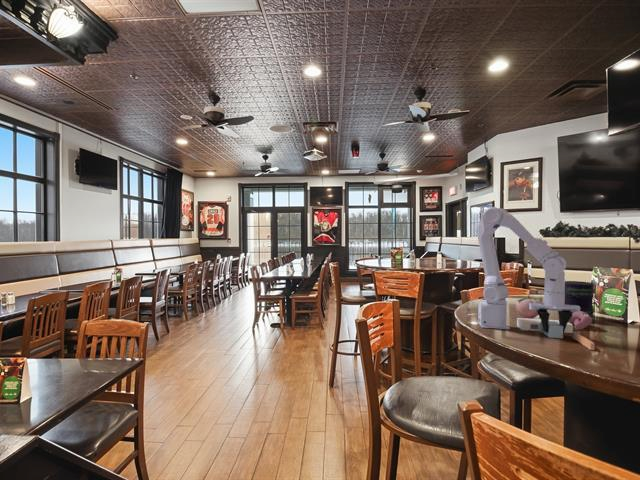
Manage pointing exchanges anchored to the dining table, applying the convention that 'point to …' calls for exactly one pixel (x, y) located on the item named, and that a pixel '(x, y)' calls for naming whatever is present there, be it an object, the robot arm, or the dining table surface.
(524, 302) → the decorative fruit
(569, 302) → the storage jar
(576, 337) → the wooden block bar
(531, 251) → the robot arm
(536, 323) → the power strip
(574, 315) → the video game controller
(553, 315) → the dining table surface
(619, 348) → the dining table surface
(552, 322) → the plug
